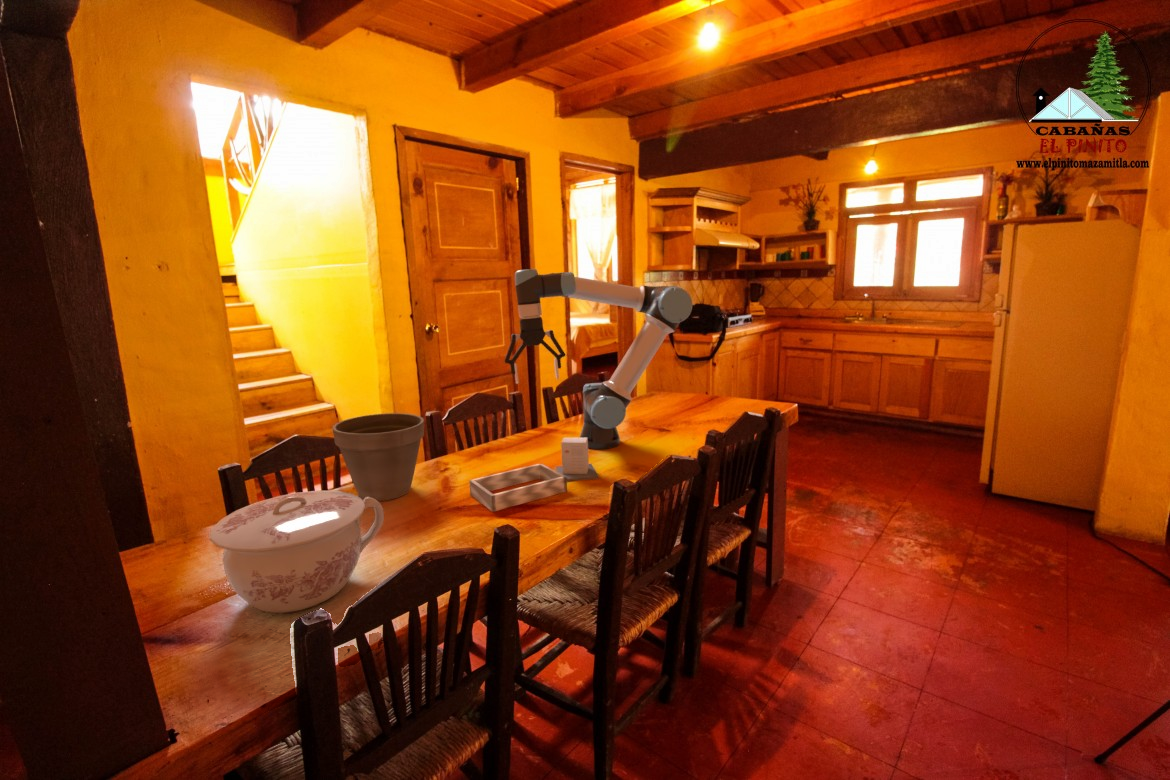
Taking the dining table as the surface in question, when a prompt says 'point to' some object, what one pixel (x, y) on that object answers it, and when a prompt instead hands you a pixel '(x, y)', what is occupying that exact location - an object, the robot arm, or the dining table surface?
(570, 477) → the plate
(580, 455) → the small box
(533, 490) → the crate
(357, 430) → the plant pot
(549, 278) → the robot arm
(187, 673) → the dining table surface
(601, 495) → the dining table surface
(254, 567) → the chamber pot
